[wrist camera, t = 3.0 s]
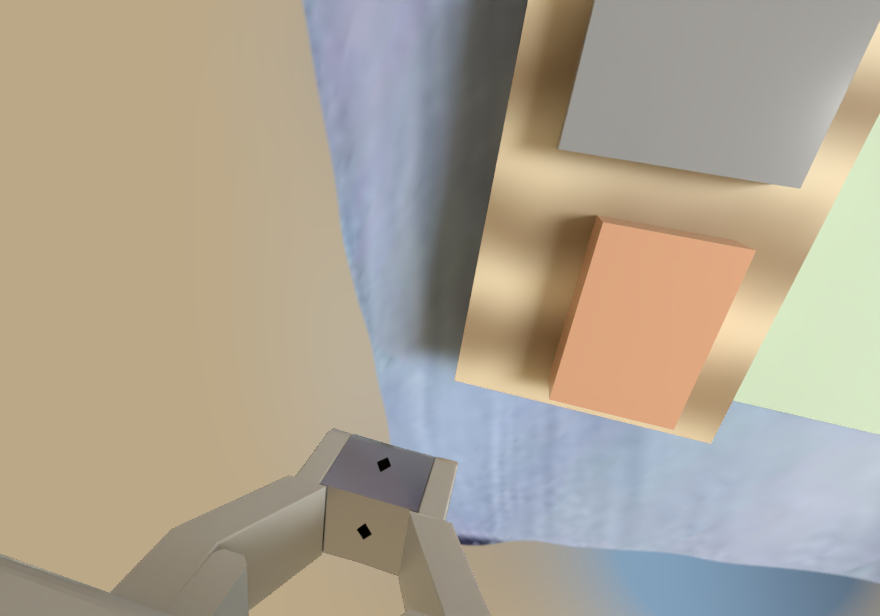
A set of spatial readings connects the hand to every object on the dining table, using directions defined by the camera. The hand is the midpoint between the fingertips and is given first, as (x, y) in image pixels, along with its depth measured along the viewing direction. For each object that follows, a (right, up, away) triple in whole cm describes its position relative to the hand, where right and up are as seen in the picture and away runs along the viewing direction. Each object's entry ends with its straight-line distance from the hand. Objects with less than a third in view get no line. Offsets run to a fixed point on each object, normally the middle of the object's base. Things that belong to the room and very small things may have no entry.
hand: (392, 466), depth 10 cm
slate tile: (+11, +12, +7) cm, 18 cm away
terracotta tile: (+11, +3, +11) cm, 16 cm away
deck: (+11, +8, +13) cm, 19 cm away
